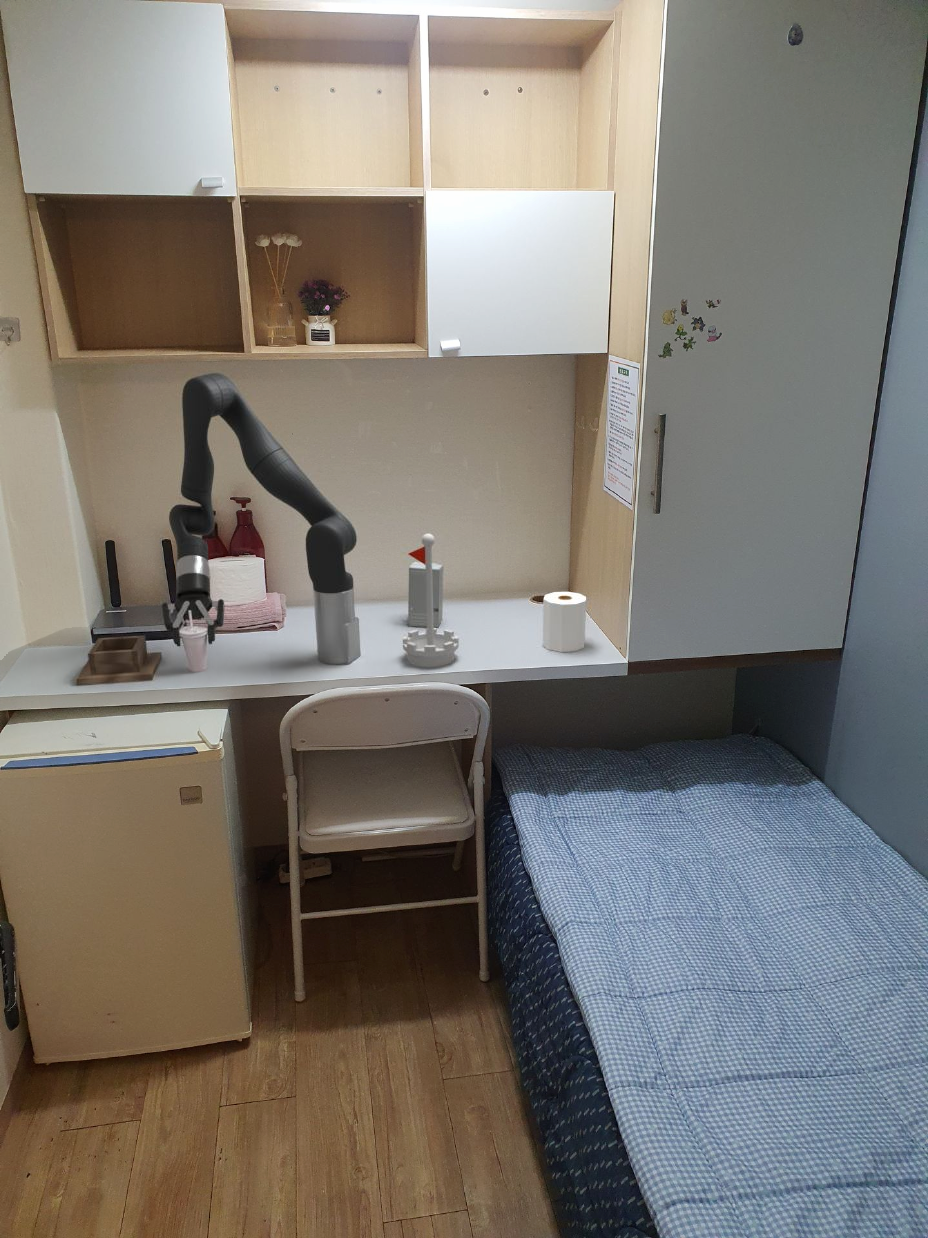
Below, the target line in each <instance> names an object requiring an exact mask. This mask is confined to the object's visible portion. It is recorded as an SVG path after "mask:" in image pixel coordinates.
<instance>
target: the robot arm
mask: <svg viewBox="0 0 928 1238" xmlns="http://www.w3.org/2000/svg"><path fill="white" fill-rule="evenodd" d="M181 404H182V406H181V408H182V423H183V424H182V425H183V428H182V429H183V442H184V443H183V444H184V445H183V446H184V447H183V448H184V451H183V452H184V456H183V465H182V466H183V468H182V474H181V475H182V476H181V483H180V494H181V495H182V497H183V498H184V499H186V500H188V501H191V502H194V503H197V504H199V505H193V504H184V503H183V504H176V505H174V506H172V508H171V509H170V510H169V511H170V512H169V515H168V521H169V525H170V526H169V527H170V529H171V531H172V535H173V537H174V540H175V544H176V549H177V551H176V552H177V553H176V555H177V559H176V561H177V563H176V565H177V566H176V573H175V575H176V577H175V578H176V580H175V581H176V600H175V602H174V603H169V604H168V603H167V602H163V603H162V604H161V607H162V616H163V623H164V626H165V629H166V631H172V641H173V643H174V645H176V647H178V648H179V647H182V645H181V641H182V638H181V636H180V635H179V630H180V629H181V628H183V627H184V625H185V623H186V622H187V621H190V619H189V610H191V615H192V621H193V620H198V621H199V620H200V621H201V620H202V619H203V621H204V622H205V623H206V626H207V628H208V633H207V644H208V645H213V642H215V640H216V629H217V628H218V627H220V628H221V627H223V626H224V621H225V620H224V617H225V605H226V604H225V602H224V599H221V598H220V599H219V600H212V598H211V573H210V571H211V570H210V565H209V545H208V542H207V541H206V540H205V539H203V538H202V537H199V536H203V537H204V536H209V535H210V534H212V533H213V531H214V529H215V524H216V520H215V513H214V508H213V502H212V501H213V500H212V491H213V483H214V475H215V463H214V457H213V455H212V452H211V448H210V445H209V441H208V435H209V433H208V432H209V428H210V425H211V424H210V423H211V420H212V418H213V417H217V416H219V417H220V418H222V420H223V421H224V422H226V423H227V426H228V427H229V428H230V429H231V430H232V431H233V433H234V434H235V435H236V437H237V440H238V443H239V445H240V449H241V454H242V457H243V461H244V464H245V465H246V468H247V469H248V471H249V472H250V474H251V476H253V477H254V478H255V479H256V481H257V482H258V483H259V484H260V486H262V488H264V490H265V491H267V492H268V493H269V494H270V495H271V496H273V497H274V498H275V499H277V500H279V501H281V502H282V503H283V504H286V505H287V506H288V507H290V508H292V509H294V510H295V511H297V512H298V513H299V514H300V515H301V516H302V517H303V519H305V520H306V521H307V523H308V524H309V525H310V527H309V529H308V531H307V532H306V536H305V555H306V563H307V569H308V570H307V571H308V576H309V579H310V581H311V583H312V588H313V604H314V605H313V606H314V608H313V609H314V620H315V623H314V624H315V633H316V636H315V637H316V648H317V651H316V652H317V659H318V661H319V662H321V663H323V664H329V665H341V664H348V665H349V664H351V663H352V662H353V661H355V660H356V659H357V658H359V657H360V656H361V655H362V654H361V653H362V652H361V637H360V636H361V635H360V618H359V617H357V616H356V609H355V607H356V606H355V588H354V585H355V584H354V577H353V575H352V574H351V573H350V572H347V571H346V570H347V569H346V565H345V564H346V563H345V556H346V555H347V554H349V553H350V552H351V551H353V549H354V548H355V547H356V544H357V540H358V539H357V537H358V536H357V533H356V529H355V527H354V526H353V524H352V522H351V521H350V520H349V519H348V518H346V516H345V515H344V514H343V513H342V512H340V510H338V508H337V507H336V506H334V505H333V503H331V502H330V501H329V500H328V499H327V498H326V497H325V496H324V495H323V494H322V493H321V491H320V490H319V489H318V488H317V487H316V485H315V484H314V483H313V482H312V480H311V479H310V478H309V477H308V476H307V475H306V474H305V473H304V472H303V470H302V469H301V468H300V466H298V464H297V463H296V462H295V460H294V459H293V458H292V457H291V455H290V454H289V453H288V452H287V450H286V449H284V447H283V446H282V445H281V444H280V443H279V442H278V441H277V440H276V439H275V438H274V436H273V435H272V433H271V432H270V431H269V430H268V428H267V427H266V426H265V425H264V423H263V422H262V421H261V420H260V419H259V417H258V416H257V415H256V414H255V413H254V411H253V409H252V408H251V406H250V405H249V404H248V402H247V401H246V399H245V398H244V396H243V395H242V394H241V392H240V390H239V389H238V388H237V386H236V385H235V383H234V382H233V380H231V379H230V378H229V377H228V376H226V375H224V374H222V373H218V372H211V373H207V374H203V375H199V376H194V377H192V378H190V379H188V380H187V381H186V382H185V384H184V386H183V388H182V396H181ZM213 607H214V609H215V610H216V611H217V612H216V619H215V620H213V618H212V617H211V615H210V613H209V612H210V611H211V609H212V608H213ZM174 610H176V611H177V612H178V613H177V615H176V618H175V621H174V622H171V621H172V620H171V615H172V614H173V613H174Z"/></svg>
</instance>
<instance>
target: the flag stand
mask: <svg viewBox="0 0 928 1238" xmlns="http://www.w3.org/2000/svg"><path fill="white" fill-rule="evenodd" d="M435 539H436V538H435V537H434V535H433V534H431V533H424V535H422V537H421V543H422V545H423V546H421V547H420V548H418V549H415V550H413V551H411V552H409V553H407V554H408V555H409V556H410V557H412V558H414V560H416V561H417V562H421V563H423V564H425V568H426V606H427V627H426V628H425V632H419V630H418V629H413V630H410V631H408V632H407V633H408V634H407V635H403V636H402V649H403V651H405V652H406V653H407V661H408V663H410V664H411V665H414V666H417V667H420V668H421V667H422V668H423V667H424V668H437V667H442V666H446V665H449V664H451V663H452V662H454V660H455V652H456V651H457V650H458V649H459V645H460V643H459V642H460V640H459V639H460V638H459V637H460V636H459V634H455V631H454V630H451V629H445V630H444V629H443V632H437V630H438V629H437V628H438V627H434V625H433V583H432V563H433V550H432V547H433V546H434V544H435Z"/></svg>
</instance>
